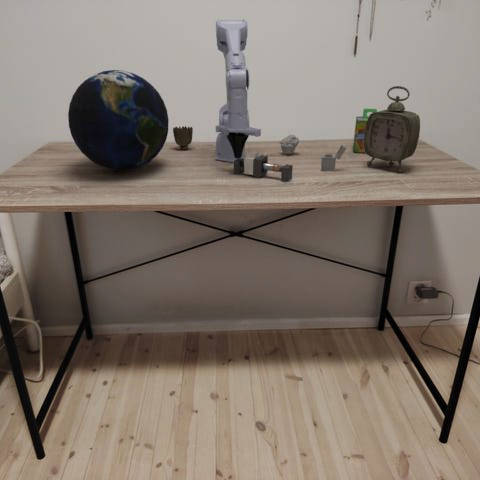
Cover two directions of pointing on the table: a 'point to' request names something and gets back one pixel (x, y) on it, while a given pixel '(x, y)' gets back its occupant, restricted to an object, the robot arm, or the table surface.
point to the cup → (183, 136)
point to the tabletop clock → (392, 132)
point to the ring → (260, 165)
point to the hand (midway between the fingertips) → (238, 157)
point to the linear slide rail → (285, 170)
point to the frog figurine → (289, 144)
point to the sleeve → (250, 162)
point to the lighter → (331, 160)
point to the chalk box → (361, 131)
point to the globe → (118, 120)
